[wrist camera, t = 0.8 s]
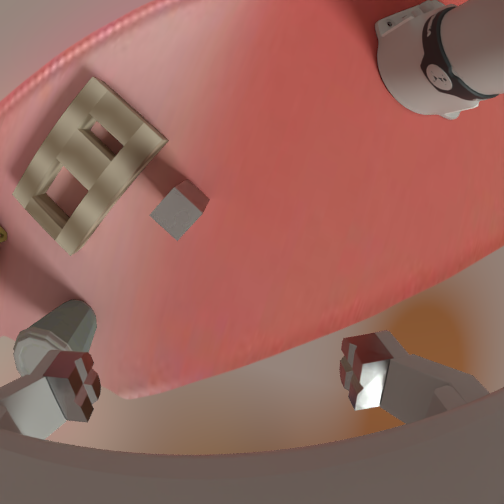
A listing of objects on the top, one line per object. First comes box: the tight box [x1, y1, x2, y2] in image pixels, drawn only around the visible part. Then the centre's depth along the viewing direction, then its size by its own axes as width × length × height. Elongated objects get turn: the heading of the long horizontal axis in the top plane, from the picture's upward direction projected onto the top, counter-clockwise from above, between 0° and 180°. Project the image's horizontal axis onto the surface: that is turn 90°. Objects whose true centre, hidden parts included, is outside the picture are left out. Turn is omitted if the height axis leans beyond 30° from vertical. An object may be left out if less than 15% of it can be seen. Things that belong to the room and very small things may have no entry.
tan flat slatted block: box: [12, 77, 169, 256], centre depth 38 cm, size 20×13×4 cm, turn 135°
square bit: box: [150, 179, 210, 241], centre depth 38 cm, size 4×4×10 cm
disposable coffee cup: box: [14, 300, 97, 377], centre depth 39 cm, size 11×11×15 cm
